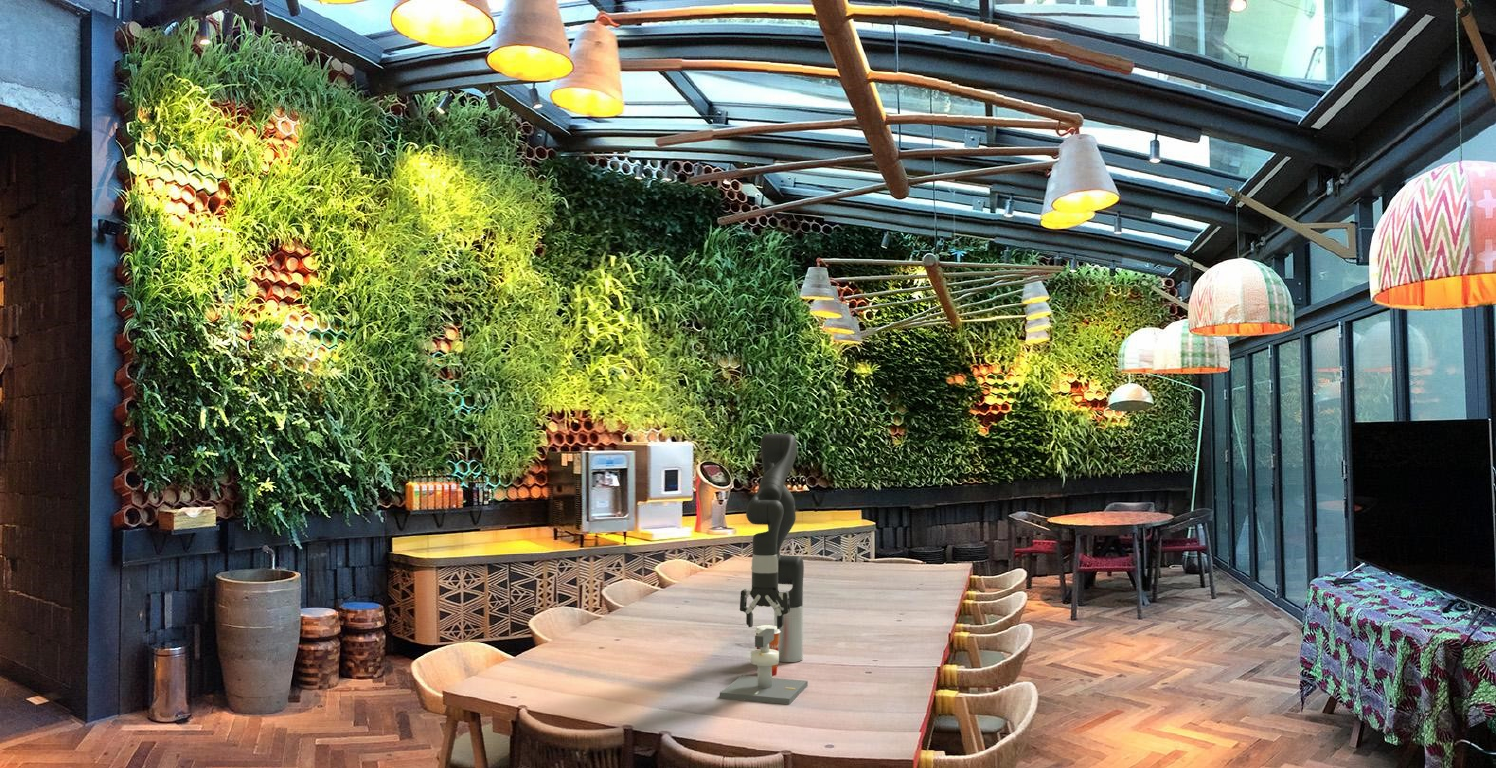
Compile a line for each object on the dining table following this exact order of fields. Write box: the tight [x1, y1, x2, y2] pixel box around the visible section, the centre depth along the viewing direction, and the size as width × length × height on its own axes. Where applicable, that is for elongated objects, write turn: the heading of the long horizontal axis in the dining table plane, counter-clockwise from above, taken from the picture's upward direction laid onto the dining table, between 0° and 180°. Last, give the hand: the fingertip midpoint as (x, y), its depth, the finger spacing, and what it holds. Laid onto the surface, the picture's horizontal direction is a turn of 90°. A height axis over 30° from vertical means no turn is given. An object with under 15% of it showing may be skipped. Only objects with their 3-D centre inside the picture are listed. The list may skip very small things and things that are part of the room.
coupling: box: [750, 628, 780, 667], centre depth 281 cm, size 11×8×8 cm
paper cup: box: [754, 624, 781, 677], centre depth 301 cm, size 8×8×14 cm
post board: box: [719, 666, 809, 705], centre depth 281 cm, size 20×20×8 cm
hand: (764, 627), depth 281 cm, fingers open, 8 cm apart
